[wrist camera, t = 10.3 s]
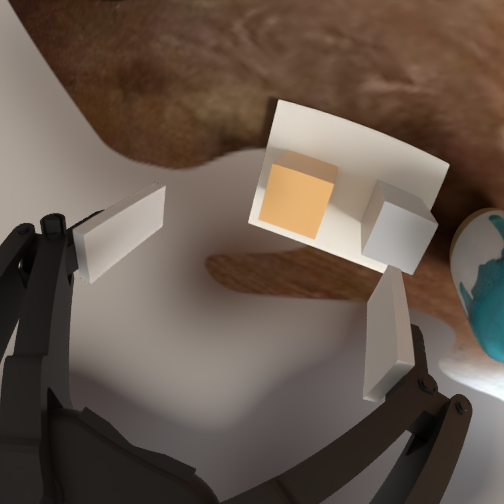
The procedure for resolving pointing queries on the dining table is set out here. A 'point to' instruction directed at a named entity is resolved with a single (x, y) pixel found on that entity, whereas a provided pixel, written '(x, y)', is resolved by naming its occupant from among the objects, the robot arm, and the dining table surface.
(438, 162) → the plate
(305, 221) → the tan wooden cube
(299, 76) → the dining table surface
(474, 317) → the vase
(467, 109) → the dining table surface
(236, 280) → the dining table surface
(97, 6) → the dining table surface
